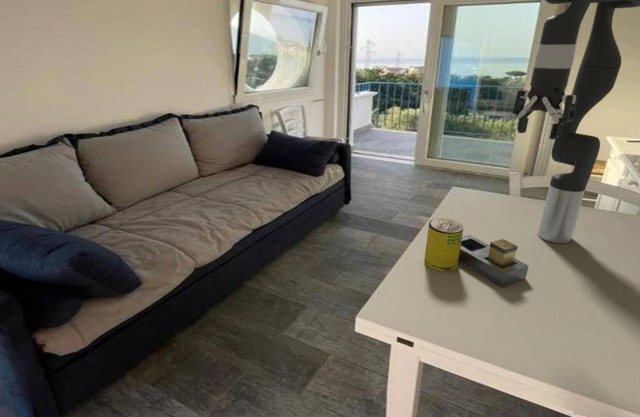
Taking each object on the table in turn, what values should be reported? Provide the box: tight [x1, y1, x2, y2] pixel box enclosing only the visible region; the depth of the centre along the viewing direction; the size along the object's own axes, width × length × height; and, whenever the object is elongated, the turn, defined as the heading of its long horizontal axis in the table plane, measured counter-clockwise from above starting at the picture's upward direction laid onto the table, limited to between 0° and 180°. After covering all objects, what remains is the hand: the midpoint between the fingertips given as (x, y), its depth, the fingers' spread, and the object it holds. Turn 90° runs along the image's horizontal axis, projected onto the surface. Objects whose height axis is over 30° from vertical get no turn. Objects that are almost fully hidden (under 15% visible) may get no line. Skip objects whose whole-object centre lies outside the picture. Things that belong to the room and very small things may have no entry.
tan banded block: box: [488, 238, 519, 269], centre depth 100 cm, size 5×5×9 cm
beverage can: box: [423, 217, 464, 273], centre depth 105 cm, size 9×9×12 cm
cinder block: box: [458, 234, 529, 288], centre depth 105 cm, size 9×20×4 cm, turn 26°
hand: (536, 135), depth 94 cm, fingers open, 8 cm apart
